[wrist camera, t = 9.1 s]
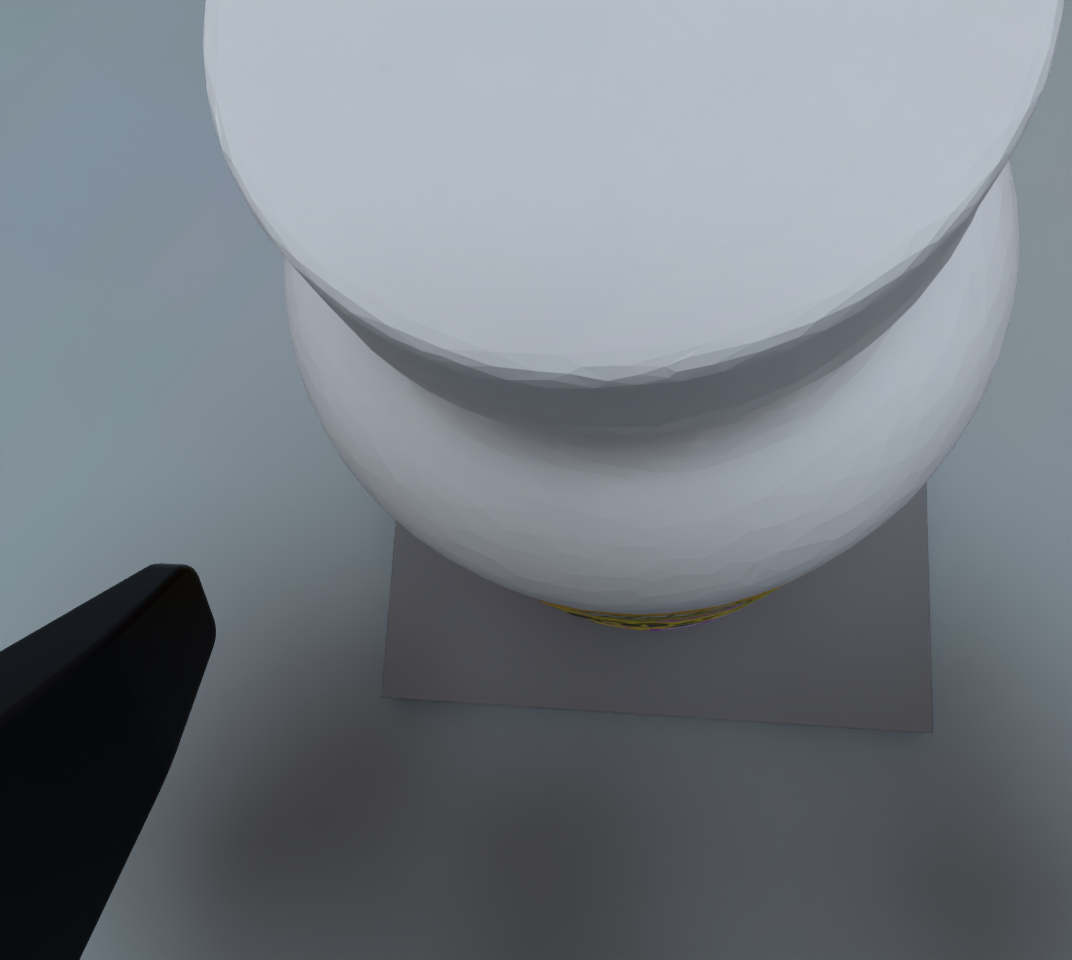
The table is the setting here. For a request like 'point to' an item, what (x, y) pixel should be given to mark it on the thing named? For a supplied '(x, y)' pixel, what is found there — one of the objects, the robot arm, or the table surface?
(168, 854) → the table surface
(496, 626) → the pad
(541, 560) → the supplement bottle
